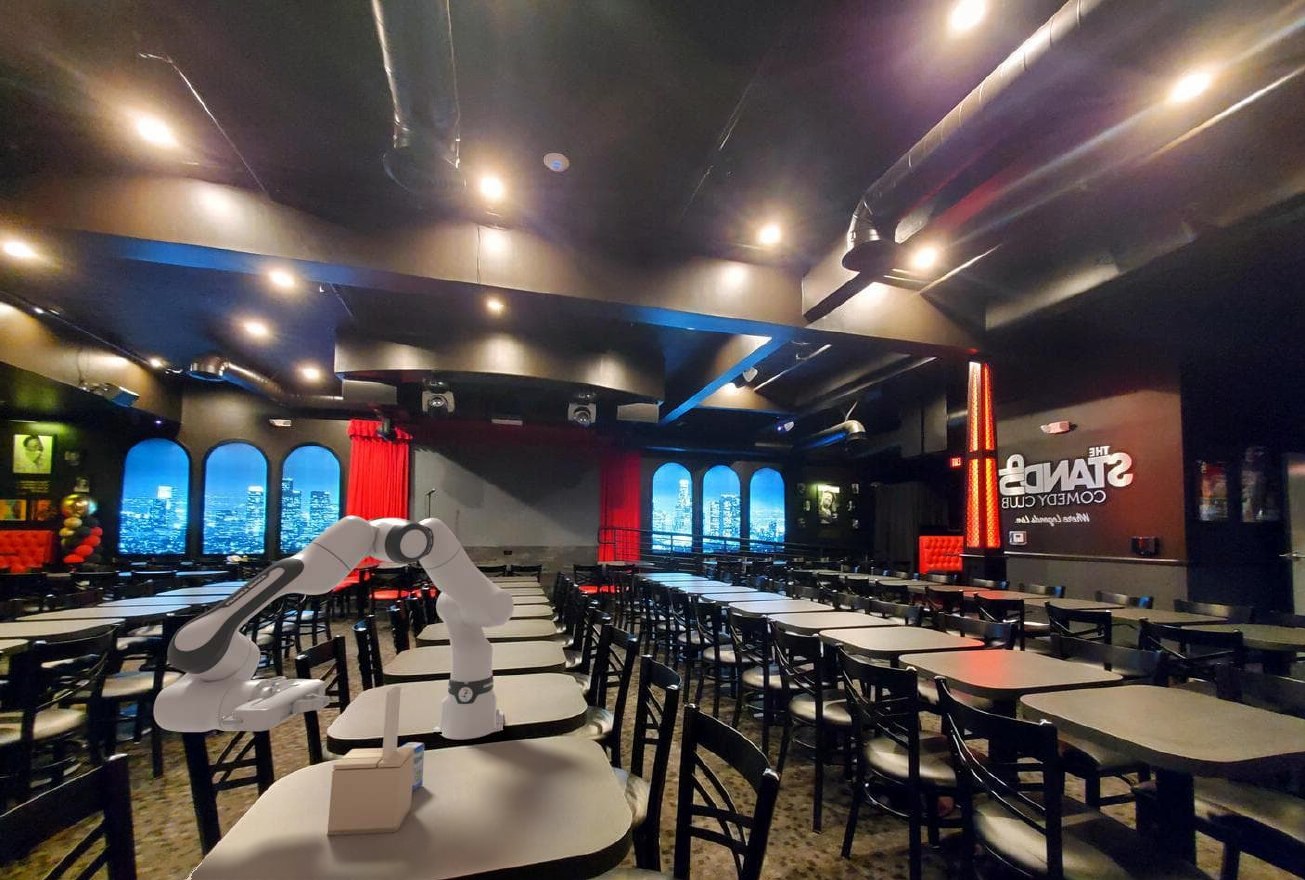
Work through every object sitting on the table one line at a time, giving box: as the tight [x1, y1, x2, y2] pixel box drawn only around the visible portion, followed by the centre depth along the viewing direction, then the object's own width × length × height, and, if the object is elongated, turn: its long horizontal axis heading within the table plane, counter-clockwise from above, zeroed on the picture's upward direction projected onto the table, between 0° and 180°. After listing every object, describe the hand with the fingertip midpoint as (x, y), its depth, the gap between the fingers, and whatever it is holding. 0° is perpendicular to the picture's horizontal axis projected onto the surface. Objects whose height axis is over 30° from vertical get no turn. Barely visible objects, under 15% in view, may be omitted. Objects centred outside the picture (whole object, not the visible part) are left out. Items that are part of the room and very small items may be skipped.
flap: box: [378, 686, 414, 767], centre depth 107 cm, size 8×4×13 cm, turn 4°
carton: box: [326, 747, 414, 836], centre depth 105 cm, size 8×12×12 cm, turn 95°
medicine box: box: [400, 741, 425, 793], centre depth 117 cm, size 8×4×9 cm, turn 168°
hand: (325, 702), depth 107 cm, fingers closed
